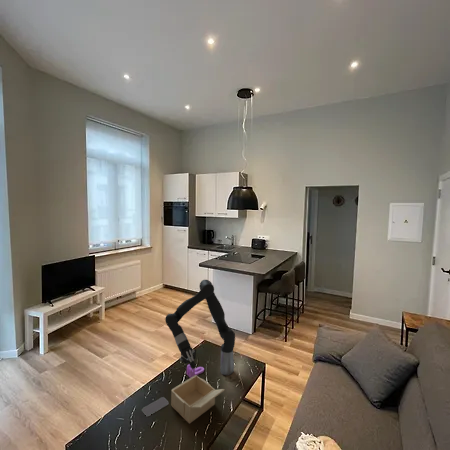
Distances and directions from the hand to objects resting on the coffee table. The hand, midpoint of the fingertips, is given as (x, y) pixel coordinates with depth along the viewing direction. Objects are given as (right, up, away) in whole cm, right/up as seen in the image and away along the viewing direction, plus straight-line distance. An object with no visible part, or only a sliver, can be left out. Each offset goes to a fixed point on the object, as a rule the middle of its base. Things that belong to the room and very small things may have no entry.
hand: (194, 368), depth 158 cm
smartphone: (-23, -22, -3) cm, 33 cm away
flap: (+10, -11, -12) cm, 18 cm away
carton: (0, -22, -1) cm, 22 cm away
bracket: (-2, -20, +29) cm, 36 cm away
